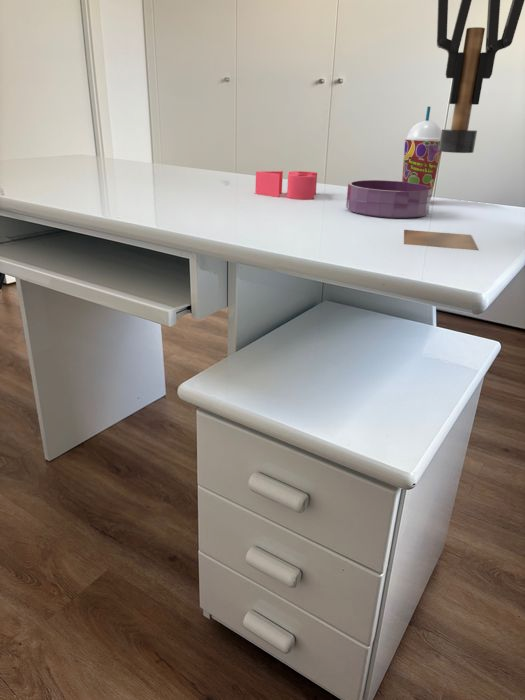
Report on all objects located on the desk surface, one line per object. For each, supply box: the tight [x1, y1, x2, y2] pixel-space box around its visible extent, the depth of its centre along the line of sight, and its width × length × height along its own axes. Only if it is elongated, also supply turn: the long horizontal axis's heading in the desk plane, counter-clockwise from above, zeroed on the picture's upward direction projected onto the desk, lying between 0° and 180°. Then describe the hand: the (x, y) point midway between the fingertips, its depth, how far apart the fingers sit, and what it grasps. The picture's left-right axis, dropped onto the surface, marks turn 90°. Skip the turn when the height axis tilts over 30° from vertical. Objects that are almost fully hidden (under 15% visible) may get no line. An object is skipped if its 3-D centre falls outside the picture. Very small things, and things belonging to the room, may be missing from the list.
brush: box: [439, 26, 486, 154], centre depth 77 cm, size 5×5×16 cm
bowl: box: [345, 179, 433, 219], centre depth 107 cm, size 16×16×6 cm
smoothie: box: [401, 106, 442, 197], centre depth 119 cm, size 8×8×20 cm
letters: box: [254, 170, 318, 200], centre depth 126 cm, size 14×10×5 cm
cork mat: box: [403, 229, 480, 251], centre depth 86 cm, size 11×11×1 cm
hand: (463, 103), depth 78 cm, fingers closed on brush, 2 cm apart
